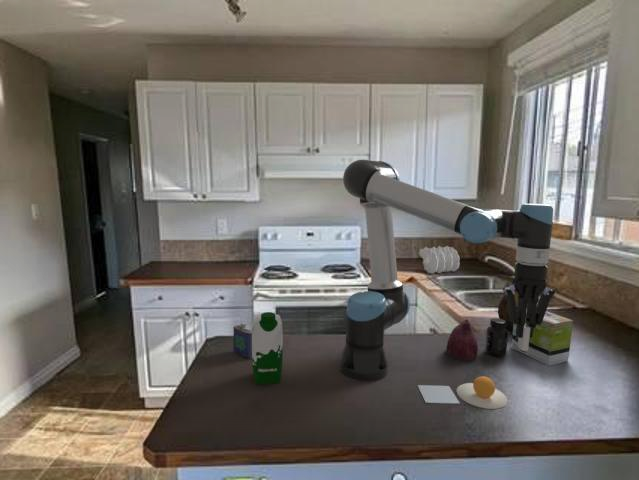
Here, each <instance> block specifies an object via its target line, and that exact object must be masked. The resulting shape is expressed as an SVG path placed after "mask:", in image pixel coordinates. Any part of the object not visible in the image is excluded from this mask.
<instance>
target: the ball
mask: <svg viewBox="0 0 639 480" xmlns="http://www.w3.org/2000/svg"><path fill="white" fill-rule="evenodd" d="M472 383H473V388H474V391H475V392H476V394H477V395H479V396H480V397H483V398H488V397H490V396H492V395H493V394H494V392H495V389H496V386H495V383H494V381H493V380H492V379H491V378H489V377H487V376H483V375H482V376H478V377H476V378H475V379H474V380H473V382H472Z"/></svg>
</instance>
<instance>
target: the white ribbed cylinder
mask: <svg viewBox="0 0 639 480" xmlns="http://www.w3.org/2000/svg"><path fill="white" fill-rule="evenodd" d="M418 255H419V256H420V257H421V258H422V264H423V267H424V268H423V270H425V271H426V272H427V273H428V274H432V275H433V274H434V273H438V274H441V273H444V272H447V273H448V272H451V271H452V272H455V271H457V270H459V268H460V264H461V263H460V256H459V254H458V251H457V250H456V249H455V248H454V246H448V245H446V246H444V247H443V246H441V245H438V247H435V246H433V247H431V248H429V247H427V246H426V247H424V248H420V249H419V252H418Z"/></svg>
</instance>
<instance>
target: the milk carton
mask: <svg viewBox="0 0 639 480" xmlns="http://www.w3.org/2000/svg"><path fill="white" fill-rule="evenodd" d="M252 319H253V320H252V324H251V325H252V326H251V331H252V359H251V363H252V371H253V376H254V380H255V382H254V383H255V385H257V386H258V385H266V384H267V385H268V384H279V383H281V378H282V371H283V355H284V354H283V349H284V348H283V347H284V345H283V343H284V342H283V339H284V338H283V337H284V335H283V334H284V333H283V328H284V327H283V322H282V318H281V316H280V314H276V313H275V312H271V311H267V312H262V313H261V314H259V315H258V314H257V315H253V317H252Z"/></svg>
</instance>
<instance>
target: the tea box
mask: <svg viewBox="0 0 639 480" xmlns="http://www.w3.org/2000/svg"><path fill="white" fill-rule="evenodd" d="M526 313H527V310H526ZM573 323H574V320H572V319H570V318H567V317H565V316H561V315H558V314H555V313H553V312H550V311H547V310H546V313H545V315H544V318H543V321H542V324H541V325H536V327H535V328H533V336H532V338H529V346H528V351H522V350H521V349H520V348H519V347H517V346H518V337H517V336H516V327H517V325H516V324H514V325H513V334H511V336H512V337H511V346H510V347H511V349H513V350H515V351H518V352H520V353H522V354H524V355H526V356H528V357H530V358H532V359H534V360H536V361H537V362H539V363H542V364H544V365H545V366H553V365H559V364H563V363H566V362H568V361H569V357H570V351H571V350H570V349H571V343H572V342H571V341H572V334H573V326H574V324H573ZM525 324H526V320H525Z"/></svg>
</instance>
